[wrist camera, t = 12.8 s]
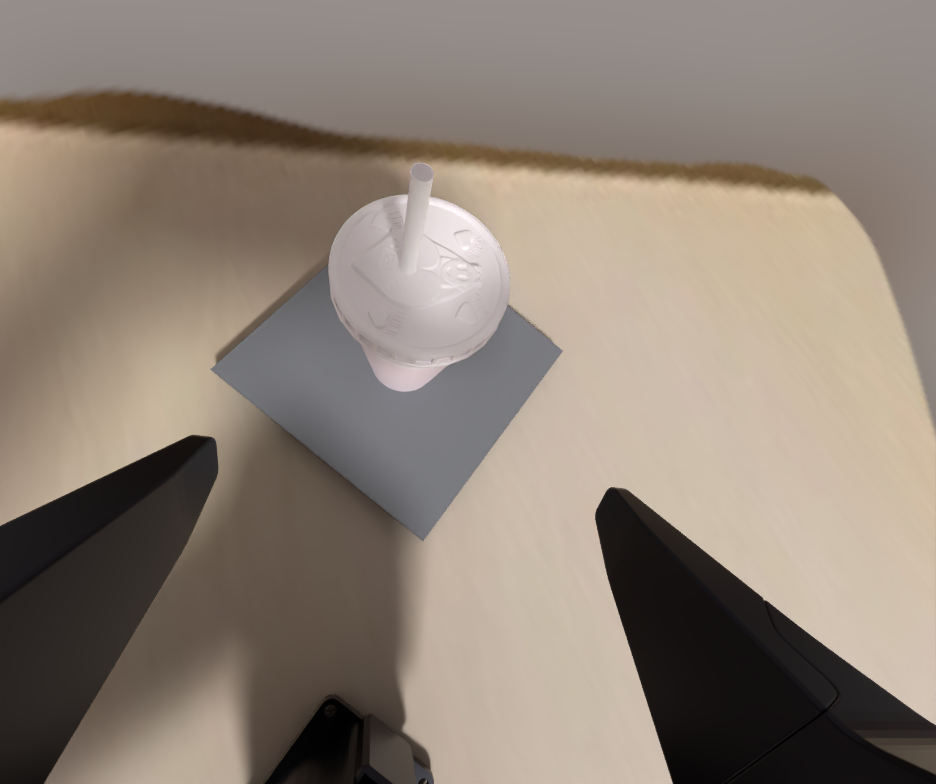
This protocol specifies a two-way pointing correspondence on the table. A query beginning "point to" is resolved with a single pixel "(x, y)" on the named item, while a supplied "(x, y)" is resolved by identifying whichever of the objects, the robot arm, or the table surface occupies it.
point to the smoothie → (417, 283)
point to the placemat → (386, 402)
